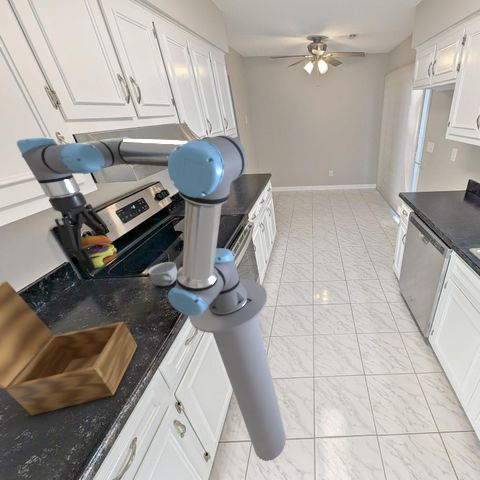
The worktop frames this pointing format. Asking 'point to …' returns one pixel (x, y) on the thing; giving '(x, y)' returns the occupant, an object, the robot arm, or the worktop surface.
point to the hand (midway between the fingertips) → (99, 258)
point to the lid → (18, 334)
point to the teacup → (163, 273)
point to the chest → (74, 368)
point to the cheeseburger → (99, 249)
